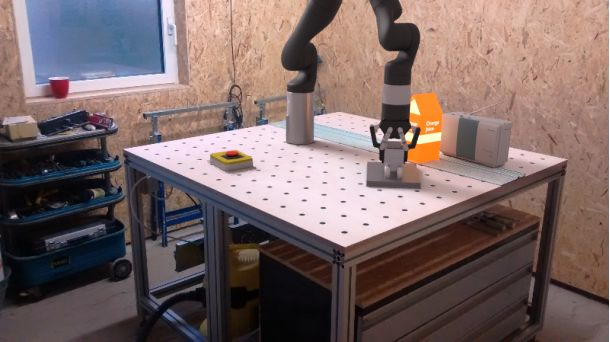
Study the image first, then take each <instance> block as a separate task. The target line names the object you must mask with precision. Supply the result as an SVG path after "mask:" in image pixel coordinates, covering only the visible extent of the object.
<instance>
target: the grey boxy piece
mask: <svg viewBox="0 0 610 342" xmlns="http://www.w3.org/2000/svg"><path fill="white" fill-rule="evenodd" d="M403 162H404V146H403V144H402V141H401V140H397V141H396V140H388V141H387V143H386V145H385V147H384V163H383V165H384V171H385V167H386V166H388V167H390V171H397V167H402V168H403ZM402 172H403V171H402Z"/></svg>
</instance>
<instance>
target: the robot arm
mask: <svg viewBox="0 0 610 342" xmlns="http://www.w3.org/2000/svg"><path fill="white" fill-rule="evenodd" d="M368 2H369V4H370V5H371V9H372V10H373V14H374V16H375V19H376V26H377V27H376V28H377V37H378V38H377V39H378V42H379V45H380V47H381V48H382V49H384V50H385V51H387V52H398V53H397V56H396V57H395V58H394V59H392V60H389V61H387V62H386V63H385V64H384V68H383V87H382V93H381V114H380V115H381V116H380V122H379V123H378V124H377V123H376V124H369V134H370V138H371V143H372V147H373V148H375V149H378V160H379V162H381V163H384V147H385V145H386V143H387V141H389V140H394V139H395V140H400V141H402V144H403V146H404V162H403V164H405V163H408V161H409V160H408V151H409V150H410V149H415V147H416V144H417V141H418V138H419V135H420V131H421V128H420V126H413V125H411V123H410V106H411V98H412V70H413V66H414V63H415V60H416V56H417V54H418V51H419V47H420V44H421V31H420V29H419V27H418V25H417V24H415V23H413V22H395V21H397V20H398V19H400V18H401V16H402V14H403V7H402V5H401V2H400V0H368ZM342 3H343V0H308V1H307V4H306V6H305V8H304V10H303V12H302V15H301V16H300V18H299V20H298V22H297V24H296V26H295V28H294V29H293V31H292V33H291V34H290V36H289V37H288V39H287V40H286V42H285V44H284V45H283V48H282V51H281V56H280V62H281V65H282V68H283V69H285V70H286V71H289V72H297V75H296V76H295V77H294V78H293V79H291V80H289V81H287V84H286V114H285V143H287V144H292V145H293V144H294V145H309V144H312V143H314V142H315V87H316V84H317V78H318V77H317V76H318V65H319V64H318V63H319V58H318V57H319V55H318V49H317V47H316V45H315V44H314V43H313V42H311V41H312V39H314V38H315V37H317V35H318V34H320V33H321V32H322V31H323V30H325V29H326V28H328V26H329V25H330V24H331V23H332V22H333V21H334V19H335V17H336V16H337V14H338V13H339V10H340V8H341V6H342ZM379 129H380V131H381V132H382V133H383V136H382V139H381V141H380V142H378V140H377V133H378V130H379ZM410 129H411V130H412V133H413V138H412V141H411V143H410V144H407V141H406V138H405V135H406V134H407V132H408V131H409V130H410Z"/></svg>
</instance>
